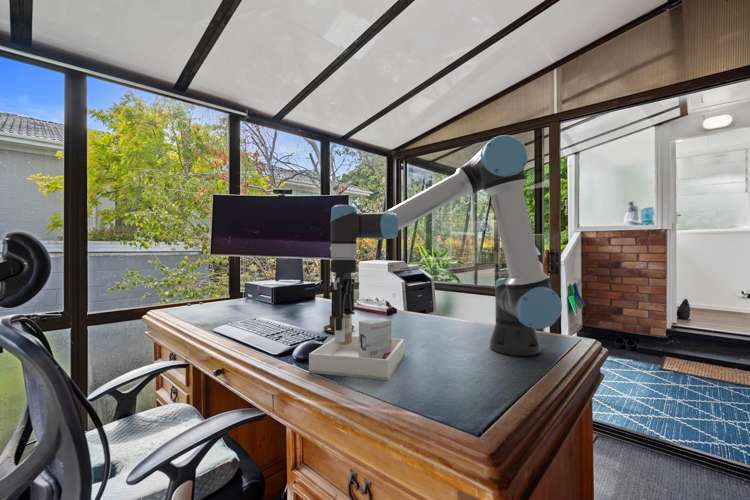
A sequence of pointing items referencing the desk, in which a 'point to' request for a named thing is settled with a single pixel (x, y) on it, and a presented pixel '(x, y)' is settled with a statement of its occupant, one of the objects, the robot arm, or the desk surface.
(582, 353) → the desk surface
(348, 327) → the birch cylinder
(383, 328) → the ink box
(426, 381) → the desk surface
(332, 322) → the cup and saucer
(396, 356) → the tray
